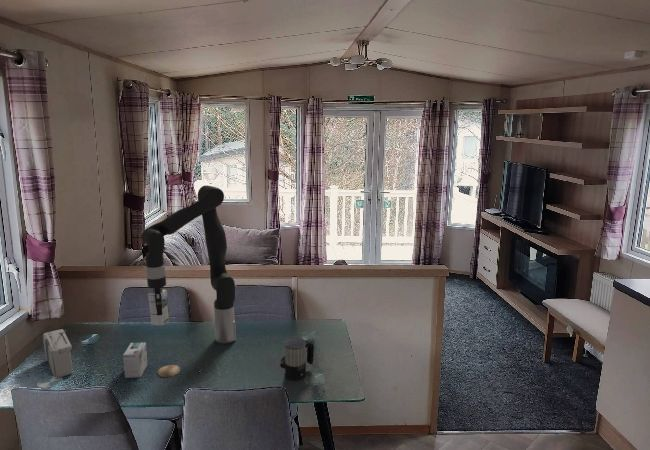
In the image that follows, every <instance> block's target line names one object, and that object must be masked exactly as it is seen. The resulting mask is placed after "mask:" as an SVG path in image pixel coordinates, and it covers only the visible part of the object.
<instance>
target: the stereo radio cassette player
mask: <svg viewBox="0 0 650 450" xmlns="http://www.w3.org/2000/svg"><path fill="white" fill-rule="evenodd" d="M66 332H67V330H66V329H65V330H64V329H63V328H61V329H56V330H52V331H48V332H44V333H43V334H42V340H43V348H44V353H45V358H46V361H47V363H48V365H49V368H50V371H51V374H52V376H53V377H54V378H55V379H59V378H62V377H65V376H69V375H72V374H73V372H74V371H73V370H74V369H73V362H72V356H71V350H73V346H72V344H71V342H70V339H68V336H67V335H66Z"/></svg>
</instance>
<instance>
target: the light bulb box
mask: <svg viewBox="0 0 650 450" xmlns="http://www.w3.org/2000/svg"><path fill="white" fill-rule="evenodd" d="M147 354H148V353H147V343H146V342H130V343H129V345H128V347H127V349H125V351H124V353H123V354H122V357H123V359H122V360H123V368H124V370H123V371H124V378H125V379H126V378H127V379H128V378H129V379H130V378H141V377H142V375H143V373H144V371H145V370H146V369H147V366H148V355H147Z"/></svg>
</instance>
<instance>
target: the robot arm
mask: <svg viewBox="0 0 650 450" xmlns="http://www.w3.org/2000/svg"><path fill="white" fill-rule="evenodd" d="M224 200H225V193H224V191H223V190H222V189H221V188H220V187H217V186H212V185H202V186H201V187H200V188H199V189H198V192H197V201H196V202H194V203H192V204H190V205H188V206H185V207H183V208H180V209H179V210H176V211H174V212H173V213H171V214H170V215H169V216H167V217H165V218H164V219H163V220H162V221H159V222H156V223H154V224H152V225H151V226H149V227H147V228H145V229H144V230H143V232H142V233H141V235H140V239H141V241H142V243H143V244H144V245H147V246H148V247H147V248H148V251H147V252H146V253H145V266H146V270H145V271H146V272H145V273H146V283H147V287H148V289H152V291H154V292H153V293H155V295H154V302H155V303H156V309H157V315H162V301H163V297H161V292H162V294H163V291H161V290H162V289H163V288H164V287H165V286H167V277H166V276H167V275H166V267H165V262H164V261H165V260H164V252H165V244H166V243H165V242H166V241H165V236H167V235H173V234H175V233H176V232H178V231H179V230H180V229H182V228H183V227H184V226H186V225H187V224H189V223H190V222H192V221H193V220H195V219H197V218H198V217H202V222H203V223H202V224H203V230H204V239H205V244H206V250H207V257H208V261H209V270H210V271H209V273H210V274H209V275H210V279H209V280H210V284H211V287H212V289H214V291H216V299H215V300H214V301H213V306H214V307H213V309H214V310H213V311H214V314H213V315H214V330H215V331H214V332H215V336H214V337H215V341H216V343H219V344H229V343H232V342H234V341H237V336H236V333H237V332H236V331H237V329H236V321H235V300H236V283H235V280H234V278H233V277H232V276H230V275H229V274H228V272H227V268H226V262H225V261H226V260H225V259H226V254H227V250H228V249H227V248H228V246H227V245H228V243H227V235H226V231H225V229H224V226H223V224H222V223H221V220H220V219H219V216H218V212H217V208H218V207H220V206H221V205H222V203H223V202H224ZM157 302H161V304H157Z"/></svg>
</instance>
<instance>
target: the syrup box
mask: <svg viewBox="0 0 650 450" xmlns="http://www.w3.org/2000/svg"><path fill="white" fill-rule="evenodd" d="M161 289H162V290H161V291H163V294H162V292H161V297H163V301H162V315H157V309H156V303H155V302H154V295H155V293H153V292H154V291H153V290H151V291H150V292H149V293H148V294H147V297H148V305H149V306H148V307H149V313H150V314H149V315H150V323H151V325H152V326H153V325H155V326H165V325H166V323H168V322H169V321H170V320H171V317H170V307H169V306H170V305H169V300H168V299H169V298H168V290H167V289H166V288H161ZM157 304H161V302H157Z"/></svg>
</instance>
